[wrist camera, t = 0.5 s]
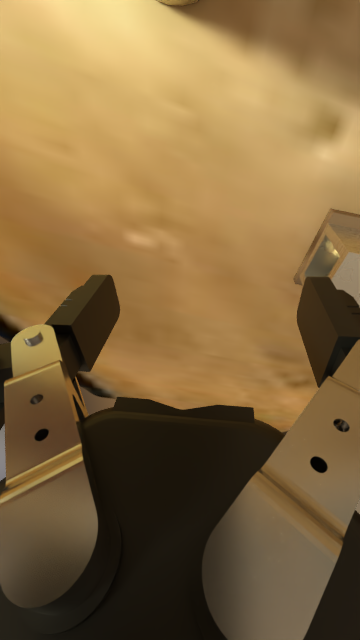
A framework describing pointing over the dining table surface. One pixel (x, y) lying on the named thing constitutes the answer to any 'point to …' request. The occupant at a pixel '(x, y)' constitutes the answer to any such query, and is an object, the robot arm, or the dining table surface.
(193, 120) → the dining table surface
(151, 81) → the dining table surface
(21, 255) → the dining table surface
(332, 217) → the base board
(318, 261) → the grey block
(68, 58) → the dining table surface
